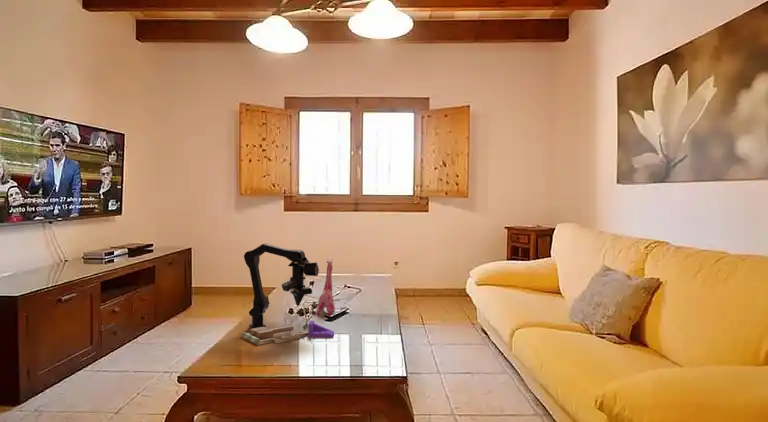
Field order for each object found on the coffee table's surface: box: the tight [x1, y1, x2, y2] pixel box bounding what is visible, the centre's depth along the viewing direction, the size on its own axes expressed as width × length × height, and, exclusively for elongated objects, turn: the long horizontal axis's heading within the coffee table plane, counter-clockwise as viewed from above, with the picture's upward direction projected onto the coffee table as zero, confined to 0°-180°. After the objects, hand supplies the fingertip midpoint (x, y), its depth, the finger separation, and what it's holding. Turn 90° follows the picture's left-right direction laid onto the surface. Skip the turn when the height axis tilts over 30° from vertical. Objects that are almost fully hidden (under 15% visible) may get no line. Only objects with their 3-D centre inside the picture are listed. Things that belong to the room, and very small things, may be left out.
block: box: [249, 326, 274, 340], centre depth 277 cm, size 10×7×4 cm
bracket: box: [307, 320, 335, 339], centre depth 284 cm, size 12×7×7 cm, turn 91°
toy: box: [316, 258, 336, 316], centre depth 334 cm, size 9×26×30 cm, turn 174°
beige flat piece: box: [241, 325, 308, 346], centre depth 281 cm, size 19×28×2 cm
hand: (297, 305), depth 296 cm, fingers closed
